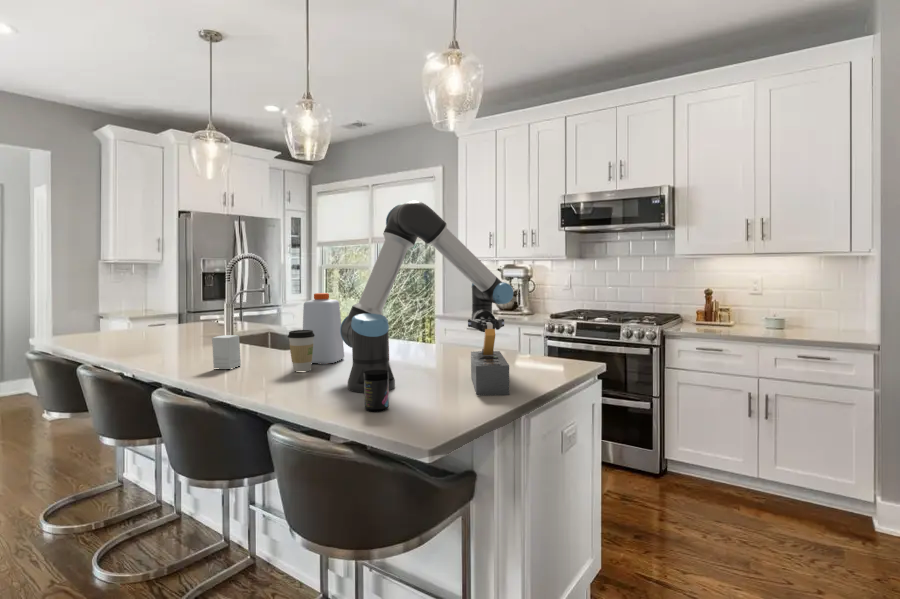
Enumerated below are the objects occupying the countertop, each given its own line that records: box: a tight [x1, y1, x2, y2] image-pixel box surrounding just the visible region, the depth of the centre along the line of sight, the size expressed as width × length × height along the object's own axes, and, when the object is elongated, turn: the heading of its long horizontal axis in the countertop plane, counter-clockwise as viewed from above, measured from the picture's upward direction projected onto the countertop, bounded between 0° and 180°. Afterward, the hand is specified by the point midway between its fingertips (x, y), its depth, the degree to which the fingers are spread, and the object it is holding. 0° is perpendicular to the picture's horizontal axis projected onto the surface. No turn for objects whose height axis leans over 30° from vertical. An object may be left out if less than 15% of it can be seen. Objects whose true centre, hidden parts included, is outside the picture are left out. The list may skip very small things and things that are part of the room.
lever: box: [481, 328, 496, 355], centre depth 174 cm, size 2×4×13 cm
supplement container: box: [363, 370, 390, 413], centre depth 149 cm, size 7×7×10 cm
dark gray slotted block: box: [470, 350, 510, 396], centre depth 183 cm, size 40×10×9 cm, turn 1°
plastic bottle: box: [302, 292, 345, 365], centre depth 223 cm, size 15×15×28 cm
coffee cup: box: [287, 329, 315, 372], centre depth 204 cm, size 10×10×15 cm
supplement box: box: [211, 334, 242, 369], centre depth 211 cm, size 7×7×13 cm
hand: (490, 328), depth 172 cm, fingers closed
